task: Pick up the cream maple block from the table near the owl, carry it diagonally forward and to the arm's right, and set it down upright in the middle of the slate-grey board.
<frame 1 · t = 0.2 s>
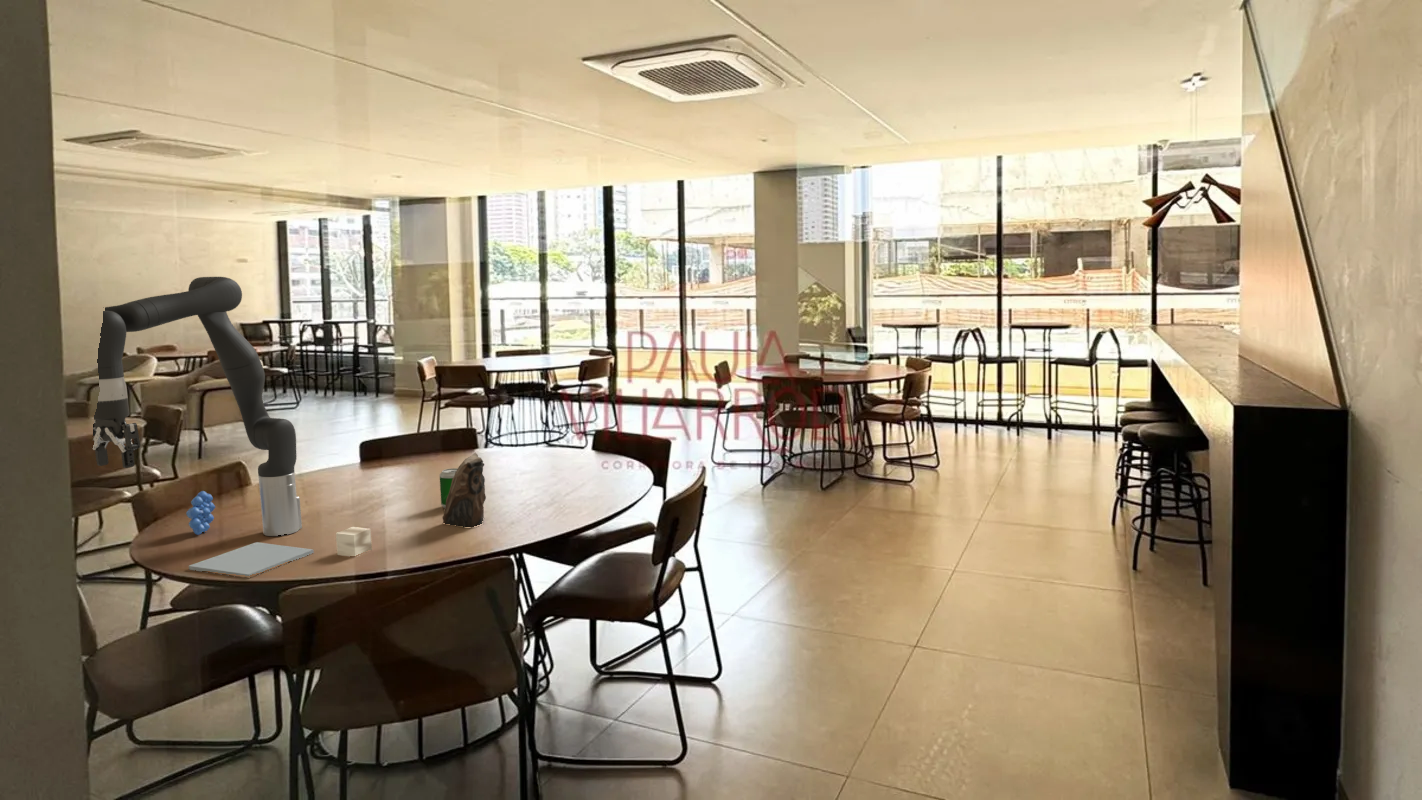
hand: (115, 466, 192), 29 cm above the table, tool pointing down, fingers open, 8 cm apart
grapes: (200, 533, 238), on the table
owl: (465, 522, 246), on the table
slate board: (253, 561, 213), on the table
soda can: (453, 507, 263), on the table
maple block: (354, 552, 219), on the table
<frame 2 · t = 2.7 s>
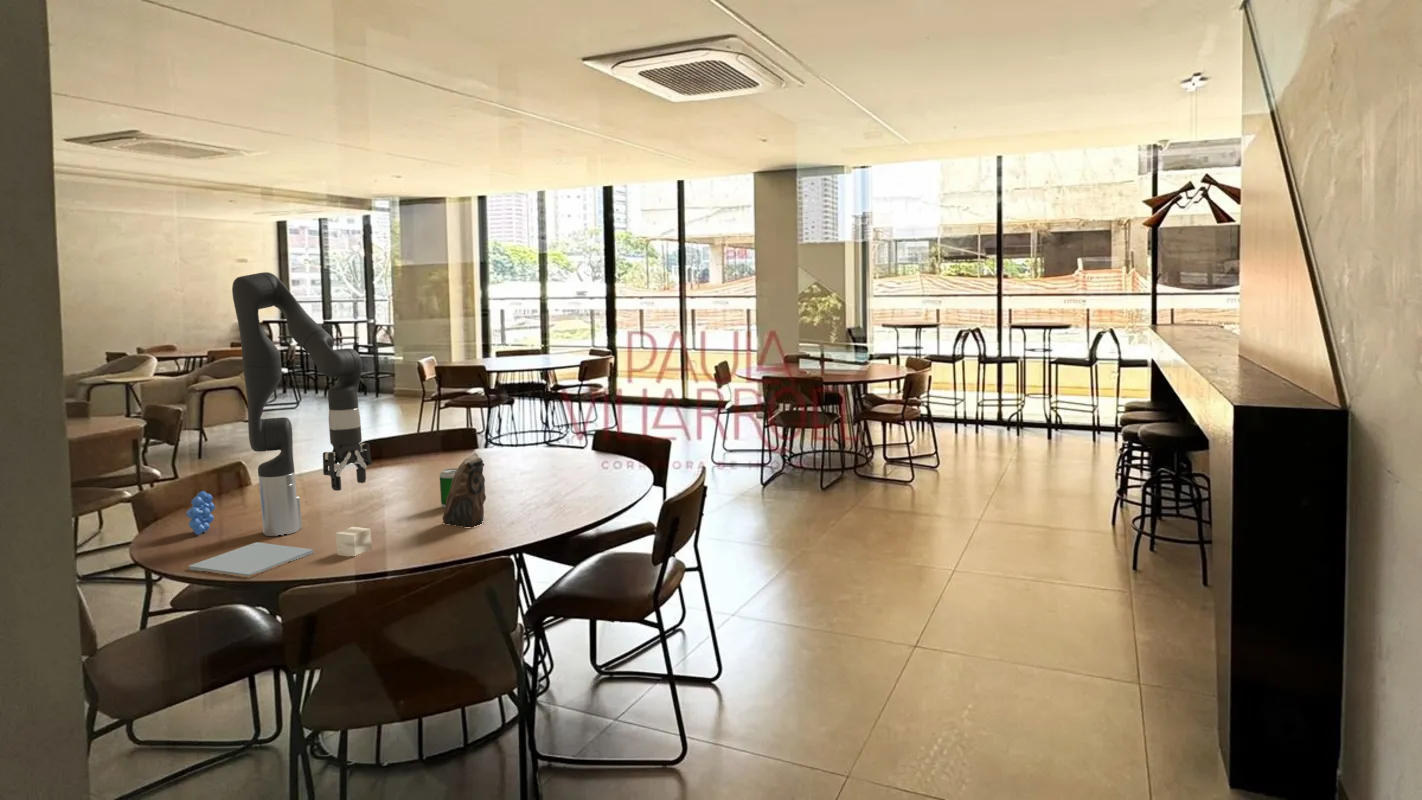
hand: (349, 486, 217), 18 cm above the table, tool pointing down, fingers open, 8 cm apart
nothing on the table moved.
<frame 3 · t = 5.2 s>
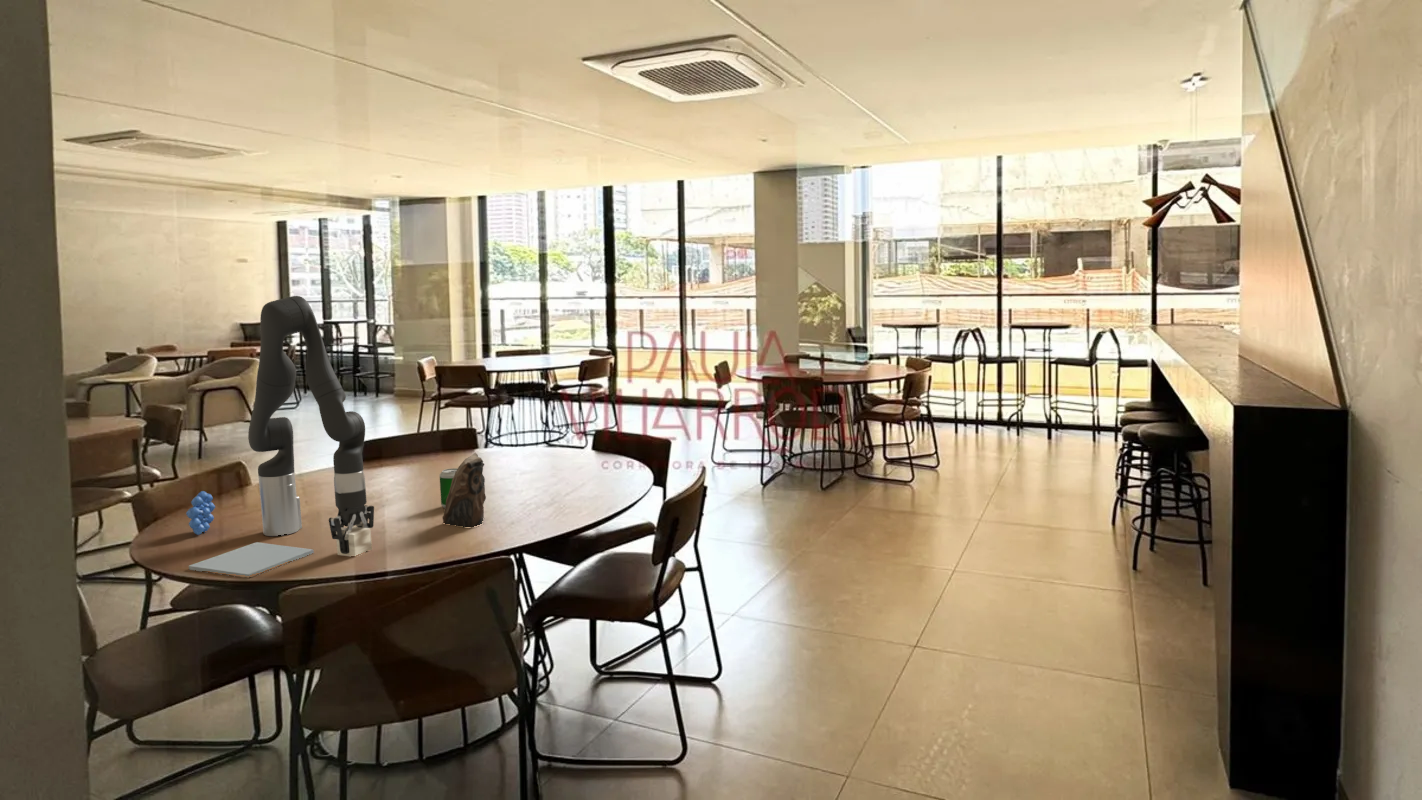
hand: (354, 549, 219), 1 cm above the table, tool pointing down, fingers closed on maple block, 6 cm apart
maple block: (354, 552, 219), on the table, touching gripper
everything else where it was.
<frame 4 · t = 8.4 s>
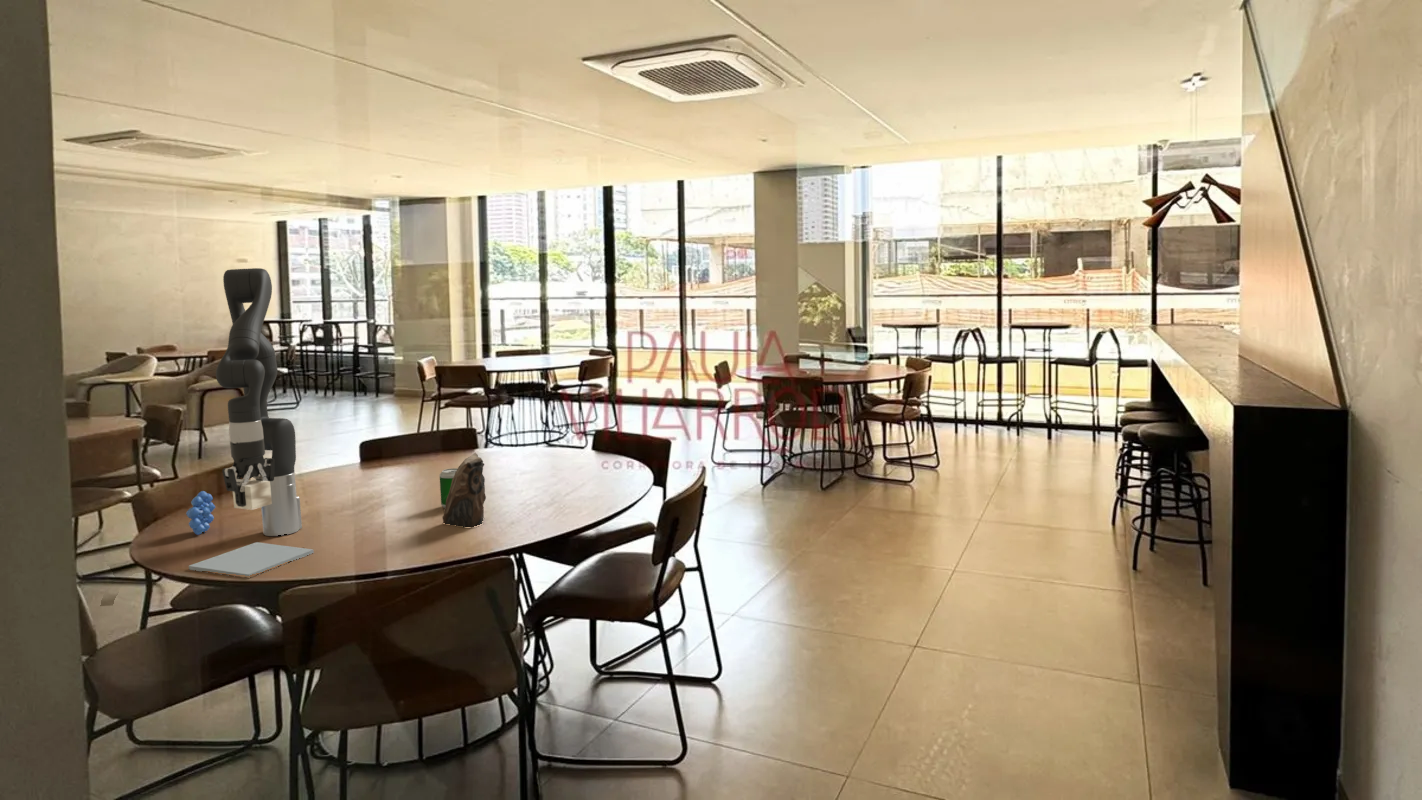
hand: (252, 502, 211), 15 cm above the table, tool pointing down, fingers closed on maple block, 6 cm apart
maple block: (253, 505, 211), point 15 cm above the table, touching gripper
everything else where it was.
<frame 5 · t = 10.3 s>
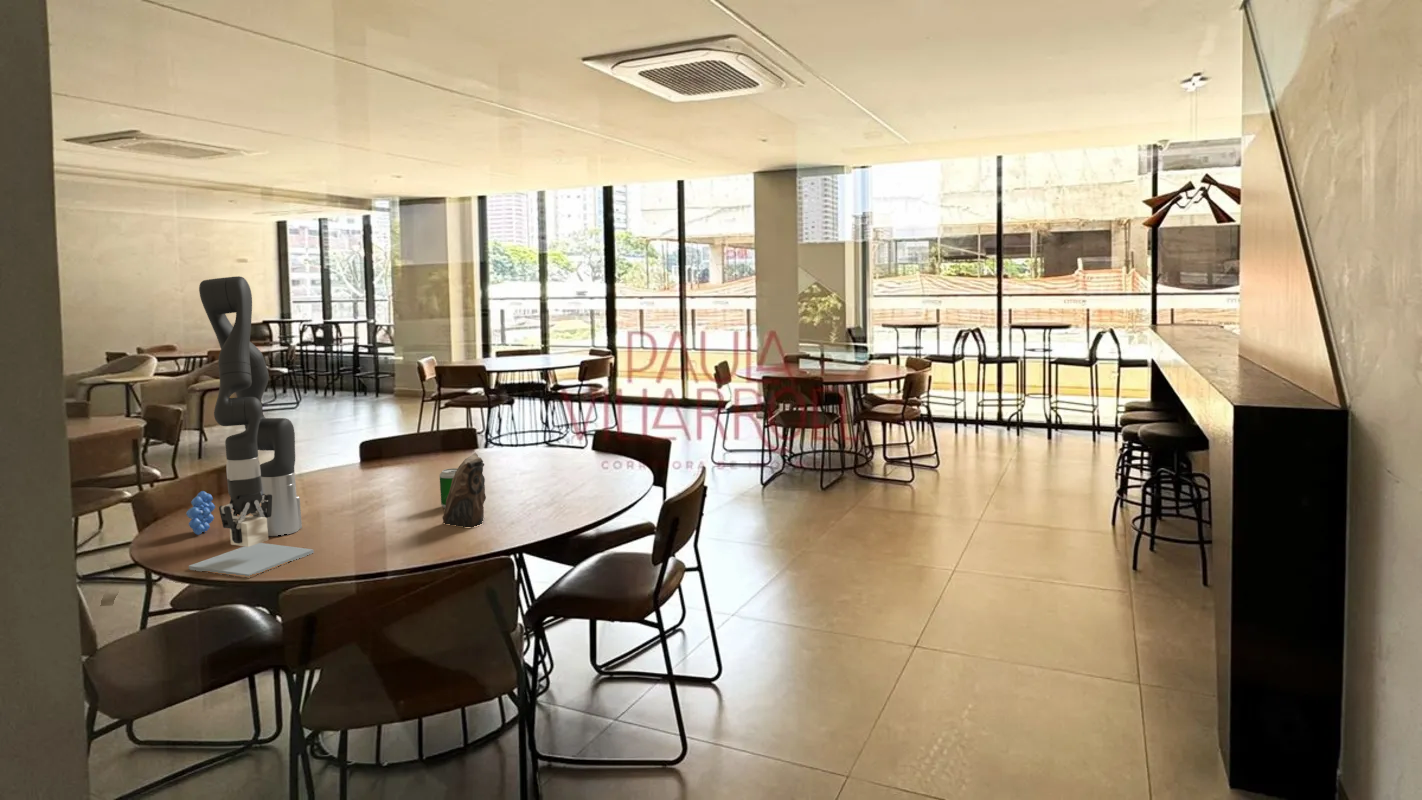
hand: (249, 538, 212), 6 cm above the table, tool pointing down, fingers closed on maple block, 6 cm apart
maple block: (249, 542, 212), point 5 cm above the table, touching gripper
everything else where it was.
when the fingers open (3 cm above the table, at t = 11.8 s): maple block drops 1 cm, resting on slate board.
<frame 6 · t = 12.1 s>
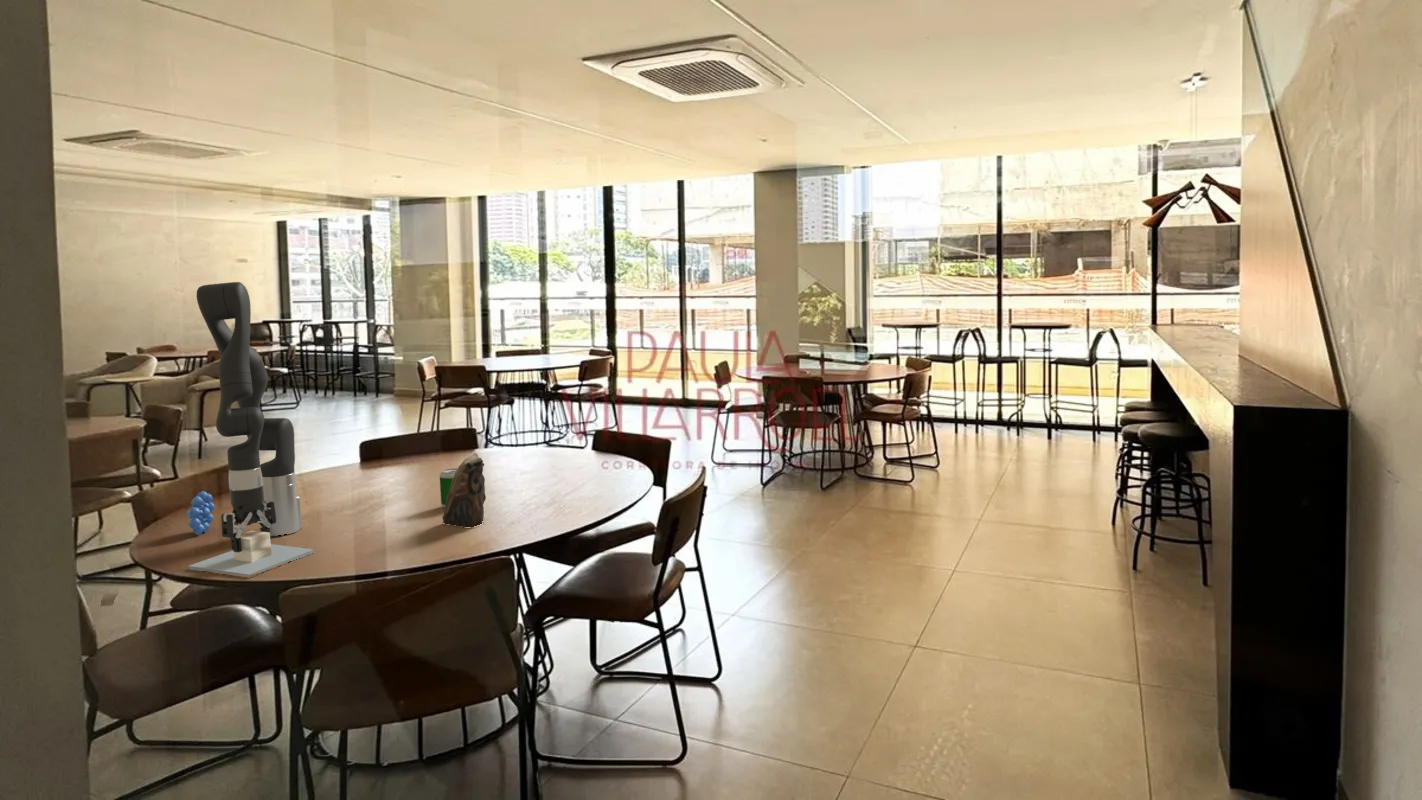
hand: (251, 546, 212), 4 cm above the table, tool pointing down, fingers open, 8 cm apart
maple block: (253, 557, 213), point 1 cm above the table, touching slate board
everything else where it was.
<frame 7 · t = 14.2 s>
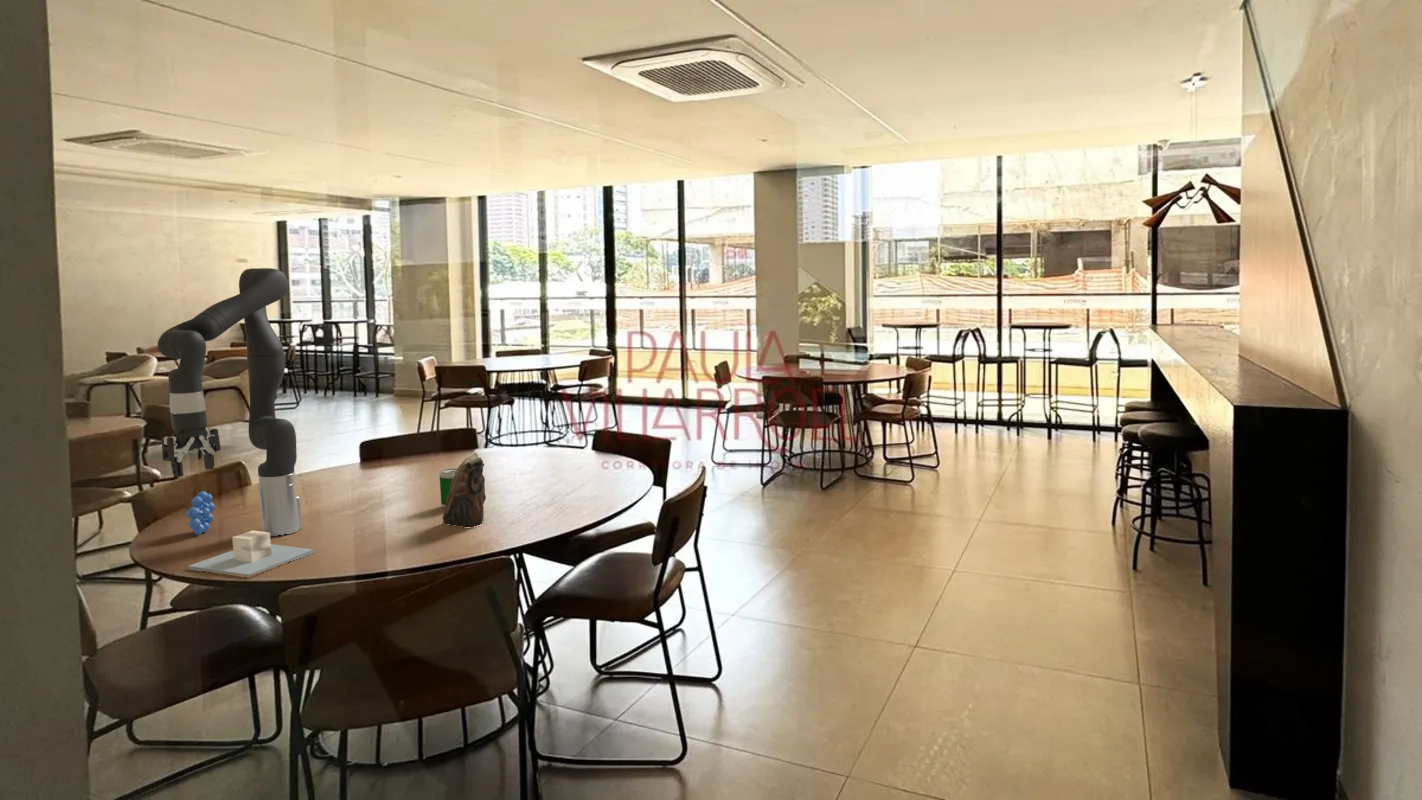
hand: (194, 472, 209), 24 cm above the table, tool pointing down, fingers open, 8 cm apart
nothing on the table moved.
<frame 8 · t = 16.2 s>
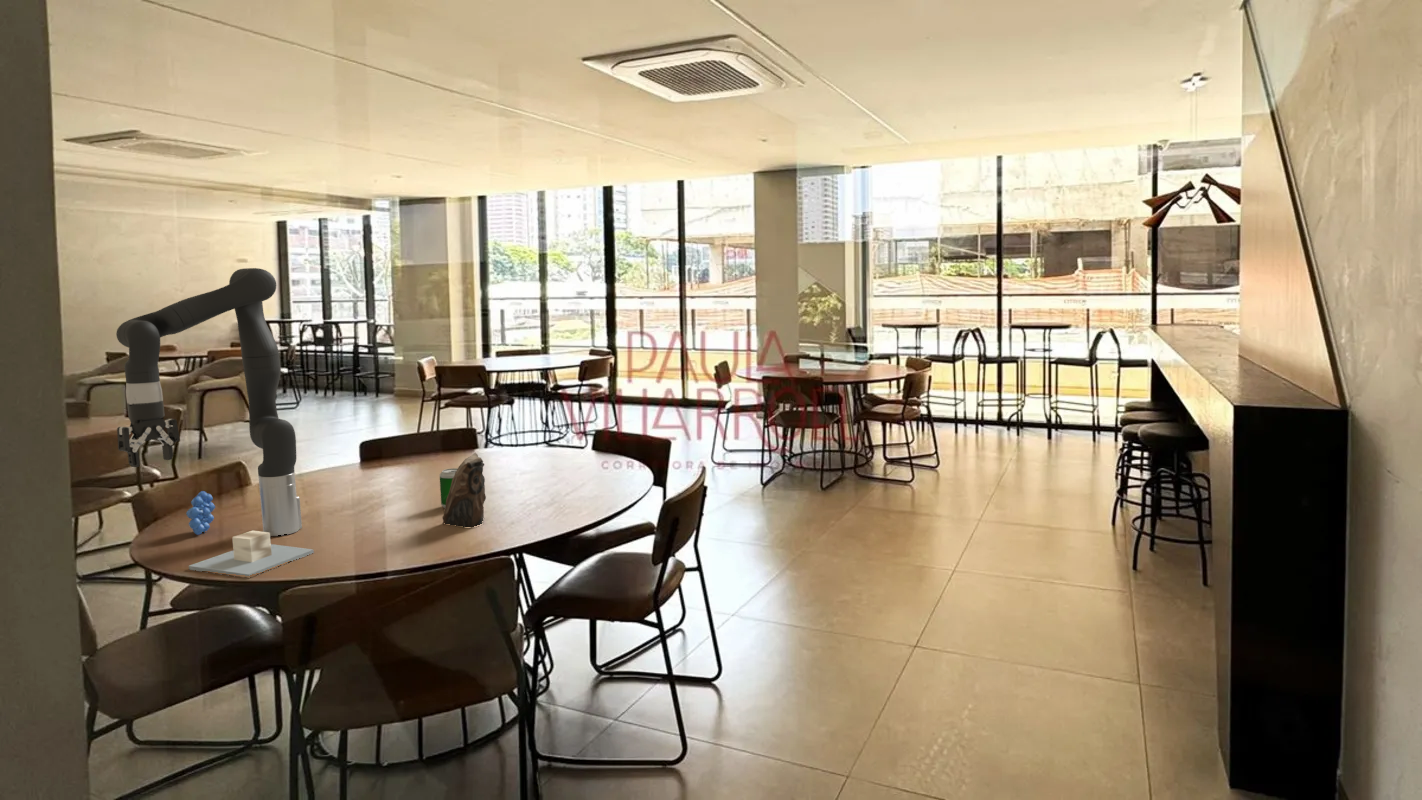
hand: (151, 463, 209), 26 cm above the table, tool pointing down, fingers open, 8 cm apart
nothing on the table moved.
at the end: maple block inside the target area on the slate board (0.1 cm from its centre), point 1.0 cm above the slate board's base; maple block tilted 0°; the gripper is holding nothing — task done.
